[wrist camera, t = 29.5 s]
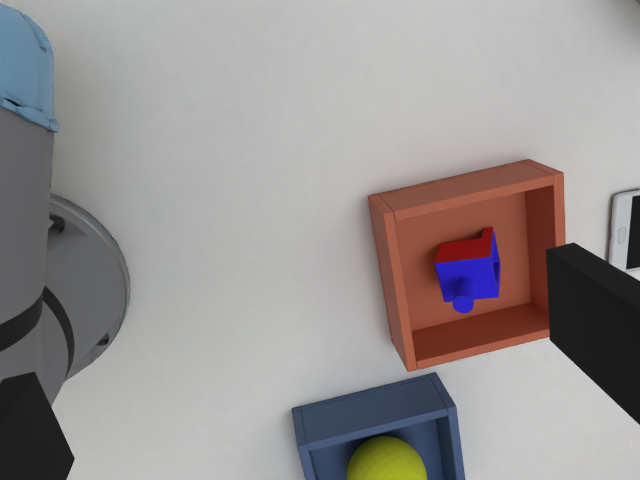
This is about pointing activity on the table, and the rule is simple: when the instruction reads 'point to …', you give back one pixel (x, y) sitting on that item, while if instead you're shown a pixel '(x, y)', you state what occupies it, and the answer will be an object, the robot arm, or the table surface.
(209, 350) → the table surface
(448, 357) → the terracotta bin
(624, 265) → the smartphone
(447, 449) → the blue bin
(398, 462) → the ornament
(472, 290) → the toy building block
